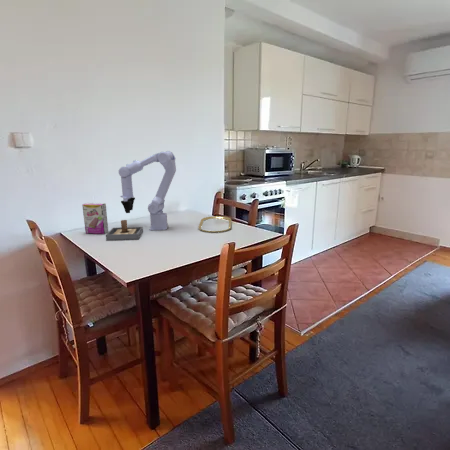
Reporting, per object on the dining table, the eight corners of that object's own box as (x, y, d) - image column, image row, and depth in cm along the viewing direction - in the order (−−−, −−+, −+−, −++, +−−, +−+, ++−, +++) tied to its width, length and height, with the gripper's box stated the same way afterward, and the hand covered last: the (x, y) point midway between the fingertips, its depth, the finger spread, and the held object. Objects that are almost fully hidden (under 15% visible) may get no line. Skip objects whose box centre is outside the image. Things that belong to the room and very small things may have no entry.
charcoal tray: (143, 232, 180) (142, 226, 179) (138, 239, 166) (137, 234, 166) (113, 232, 179) (112, 227, 178) (106, 240, 165) (105, 234, 165)
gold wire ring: (231, 218, 211) (231, 216, 210) (231, 233, 177) (231, 231, 176) (202, 218, 211) (202, 216, 211) (196, 233, 177) (196, 231, 177)
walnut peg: (128, 234, 174) (127, 219, 172) (127, 236, 171) (126, 221, 169) (122, 234, 174) (121, 220, 172) (121, 236, 171) (120, 221, 169)
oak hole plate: (136, 232, 178) (136, 228, 177) (133, 237, 168) (132, 234, 167) (118, 232, 177) (117, 229, 176) (113, 238, 167) (112, 234, 167)
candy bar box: (85, 234, 177) (81, 204, 173) (89, 231, 182) (86, 202, 178) (104, 234, 176) (101, 204, 172) (109, 231, 181) (106, 202, 177)
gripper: (122, 186, 191) (124, 209, 194) (116, 190, 177) (119, 214, 180) (135, 186, 191) (137, 208, 195) (130, 189, 177) (132, 214, 181)
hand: (129, 211), depth 187 cm, fingers open, 7 cm apart
